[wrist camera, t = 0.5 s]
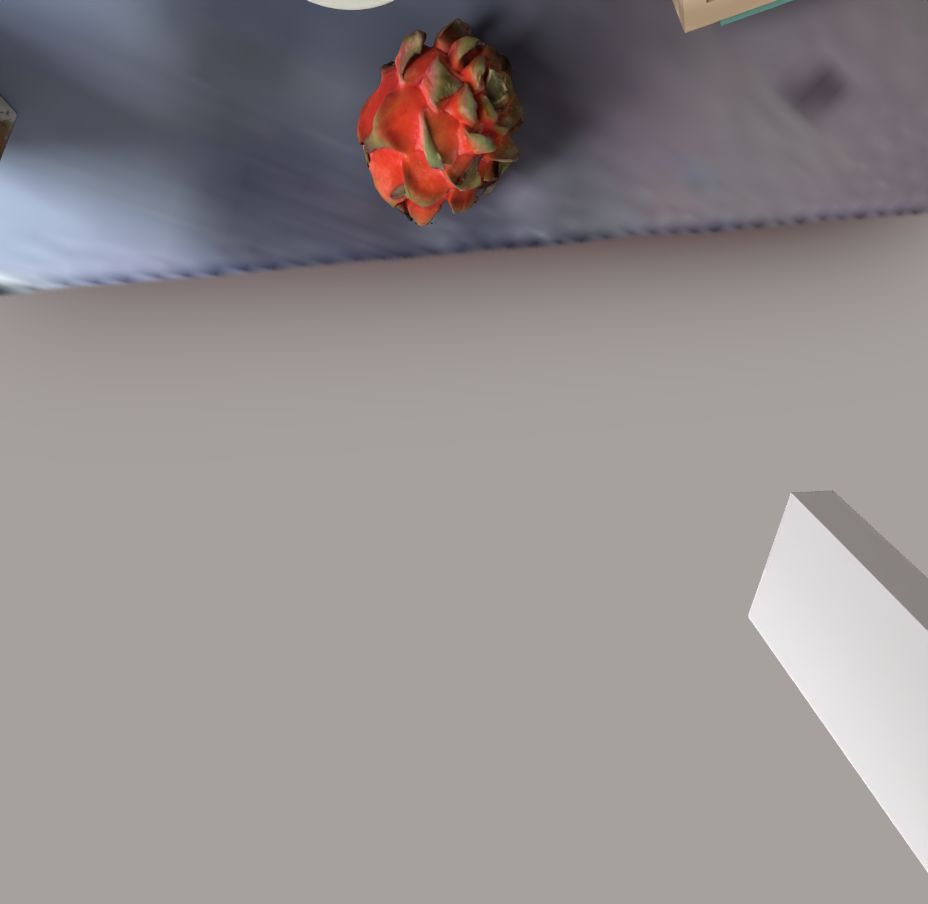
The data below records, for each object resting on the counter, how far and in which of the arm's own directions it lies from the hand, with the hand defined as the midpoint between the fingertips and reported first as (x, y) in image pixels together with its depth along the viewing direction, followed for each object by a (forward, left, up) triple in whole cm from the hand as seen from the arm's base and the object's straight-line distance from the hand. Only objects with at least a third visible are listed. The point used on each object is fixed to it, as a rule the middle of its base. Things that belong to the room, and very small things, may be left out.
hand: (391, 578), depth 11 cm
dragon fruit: (+14, -3, -34) cm, 37 cm away
